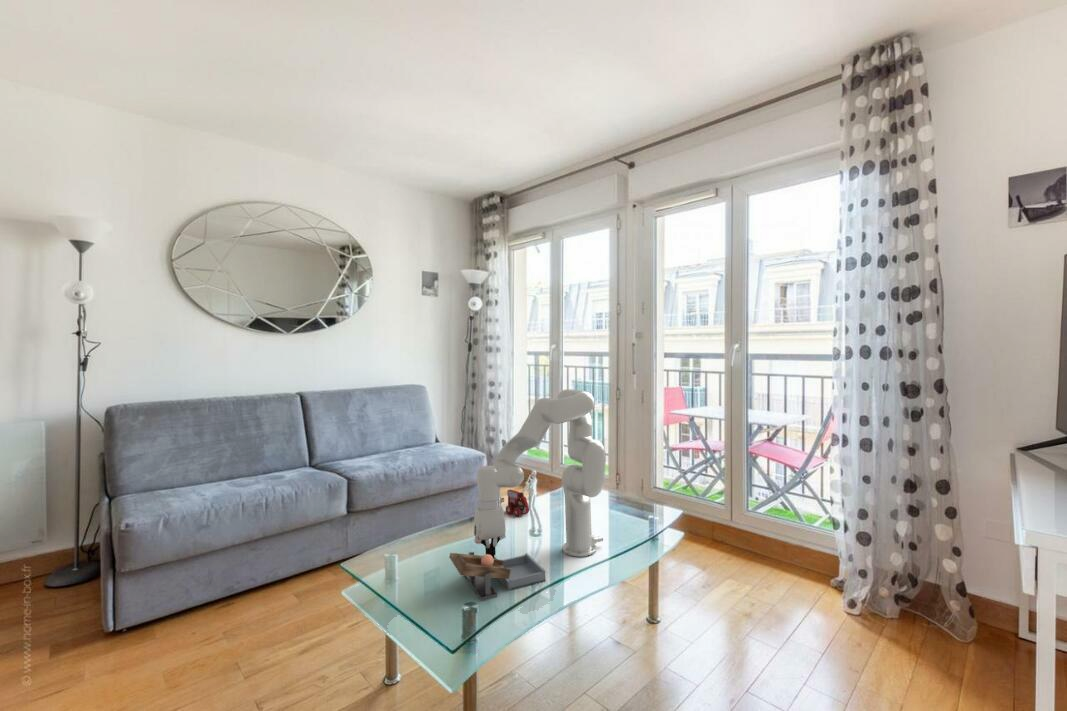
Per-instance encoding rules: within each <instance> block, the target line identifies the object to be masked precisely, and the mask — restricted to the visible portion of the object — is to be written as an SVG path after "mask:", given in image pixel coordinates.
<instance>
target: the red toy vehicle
mask: <svg viewBox="0 0 1067 711" xmlns="http://www.w3.org/2000/svg"><path fill="white" fill-rule="evenodd" d="M506 493H507V494H506V495H507V505H506V507H505V513H506V514H507V515H512V514H513V515H514V517H516V518H519V517H521V515H522V514H525V515H526V514H529V512H530V508H529V507H530V506H529V503H528V501H527V498H526V496H525V493H524V492H523V491H517V490H513V489H507V492H506Z"/></svg>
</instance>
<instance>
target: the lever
mask: <svg viewBox="0 0 1067 711" xmlns="http://www.w3.org/2000/svg"><path fill="white" fill-rule="evenodd" d="M483 556H484V555H481V554H479V555H478V554H474V555H469V553H456V552H450V553H449V559H450V561H451V563H452V564H453V565H454V567H455V568H456V570H457V572H458V574H459V575H460V576H464V577H465V576H477V577H484V573H486V572H490V579H492V578H493V579H499V578H505V579H509V576H510V571H511V569H510V568H504V567H503V566H502V565H503V560H504V559H497V557H496V556H494V563H493V565H492V566H482V564H481V559H482V557H483Z"/></svg>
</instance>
